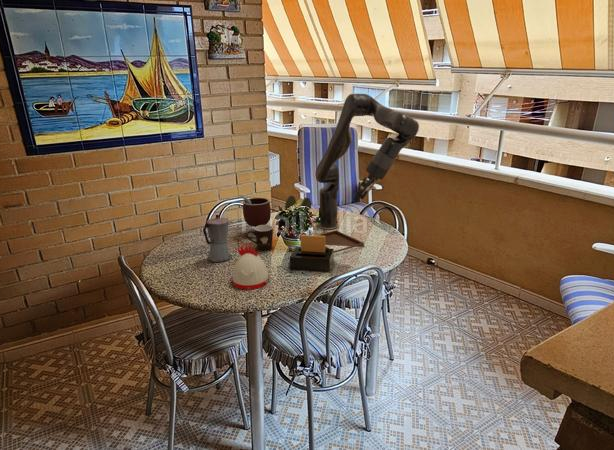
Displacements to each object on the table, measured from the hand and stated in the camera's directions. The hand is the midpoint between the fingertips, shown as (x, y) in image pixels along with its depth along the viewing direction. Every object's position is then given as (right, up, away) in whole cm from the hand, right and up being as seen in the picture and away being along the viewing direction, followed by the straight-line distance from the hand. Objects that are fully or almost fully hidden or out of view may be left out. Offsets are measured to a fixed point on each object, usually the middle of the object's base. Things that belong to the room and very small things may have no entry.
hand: (357, 199), depth 160 cm
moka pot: (-58, -25, +18) cm, 66 cm away
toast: (-17, -26, +9) cm, 32 cm away
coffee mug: (-41, -21, +29) cm, 54 cm away
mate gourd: (-45, -14, +48) cm, 67 cm away
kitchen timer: (-42, -32, -2) cm, 53 cm away
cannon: (-27, -7, +68) cm, 73 cm away
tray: (-7, -19, +31) cm, 37 cm away
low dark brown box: (-18, -28, +7) cm, 34 cm away
